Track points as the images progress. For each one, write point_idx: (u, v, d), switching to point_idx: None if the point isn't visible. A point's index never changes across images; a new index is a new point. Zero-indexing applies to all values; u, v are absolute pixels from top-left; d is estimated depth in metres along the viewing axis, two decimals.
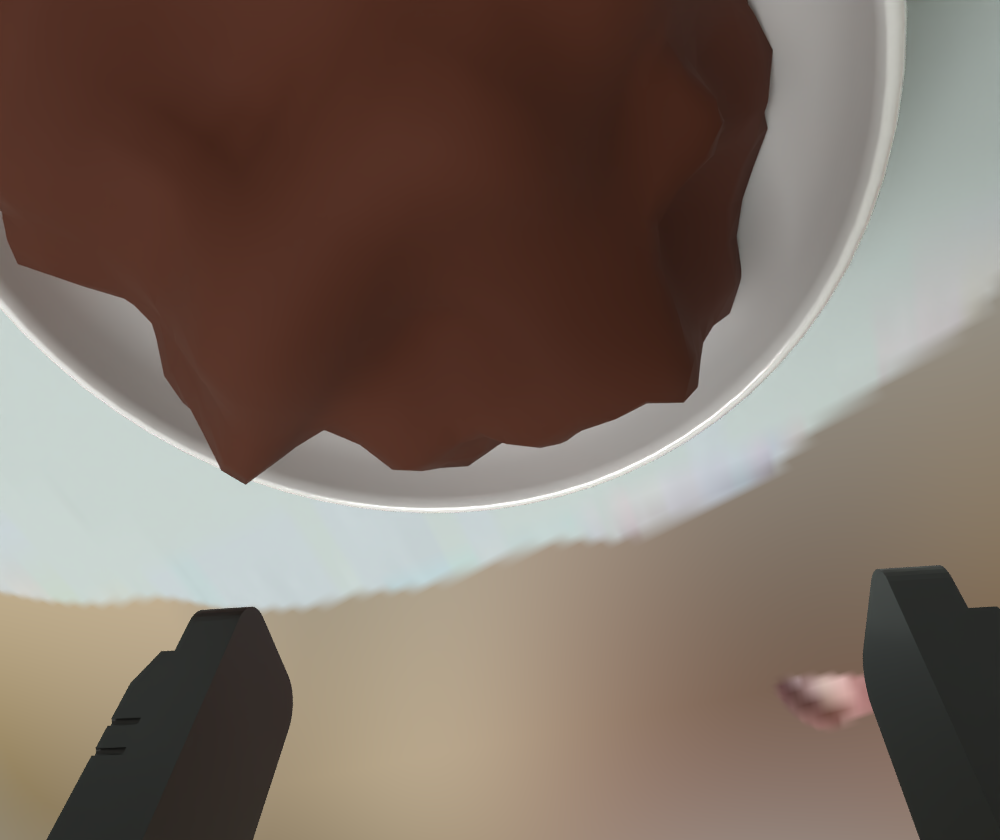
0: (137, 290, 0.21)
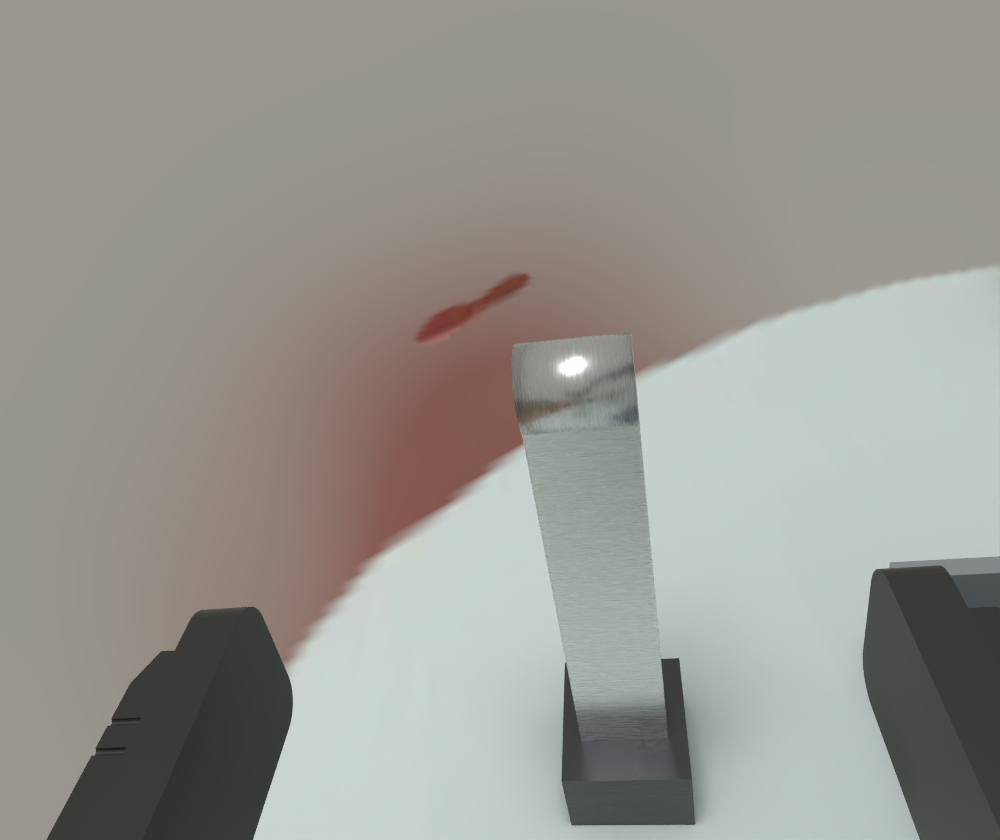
0: None
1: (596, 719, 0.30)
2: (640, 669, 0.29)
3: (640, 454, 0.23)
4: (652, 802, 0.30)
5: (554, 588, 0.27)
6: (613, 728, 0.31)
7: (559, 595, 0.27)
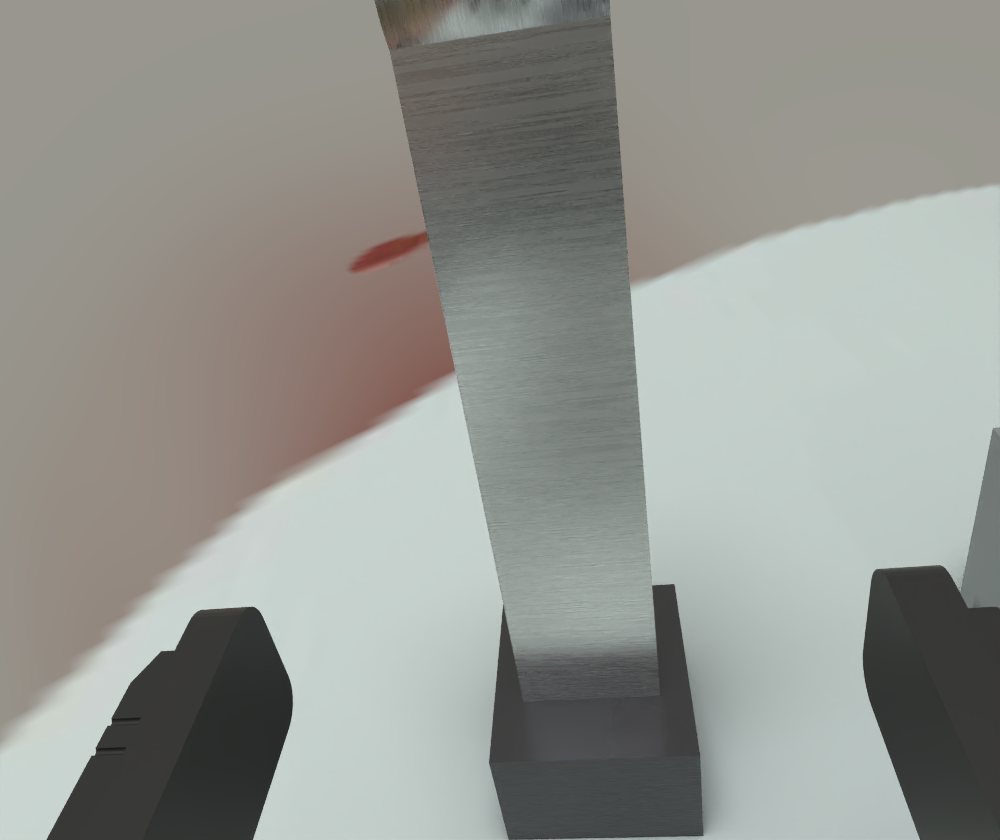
0: None
1: (546, 662, 0.19)
2: (616, 567, 0.17)
3: (612, 89, 0.12)
4: (635, 797, 0.19)
5: (467, 406, 0.15)
6: (573, 678, 0.19)
7: (476, 420, 0.16)
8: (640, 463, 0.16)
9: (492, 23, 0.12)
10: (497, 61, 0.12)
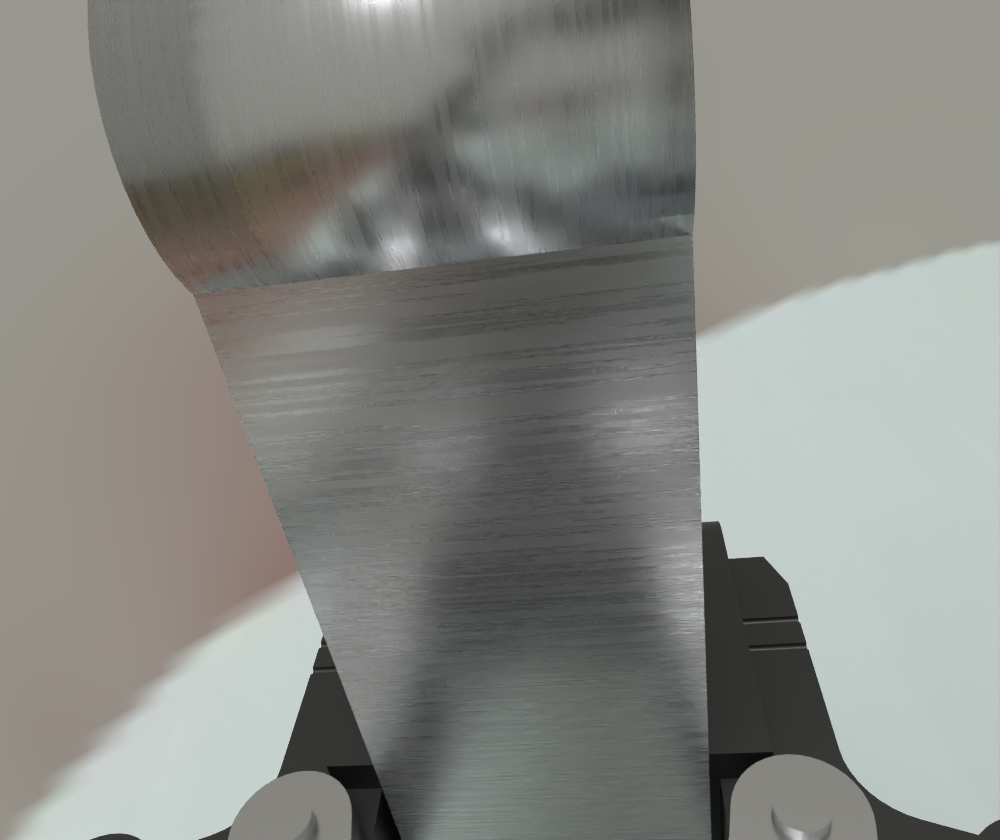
0: None
1: None
2: None
3: (690, 377, 0.06)
4: None
5: (406, 830, 0.09)
6: None
7: None
8: None
9: (417, 251, 0.05)
10: (434, 320, 0.05)
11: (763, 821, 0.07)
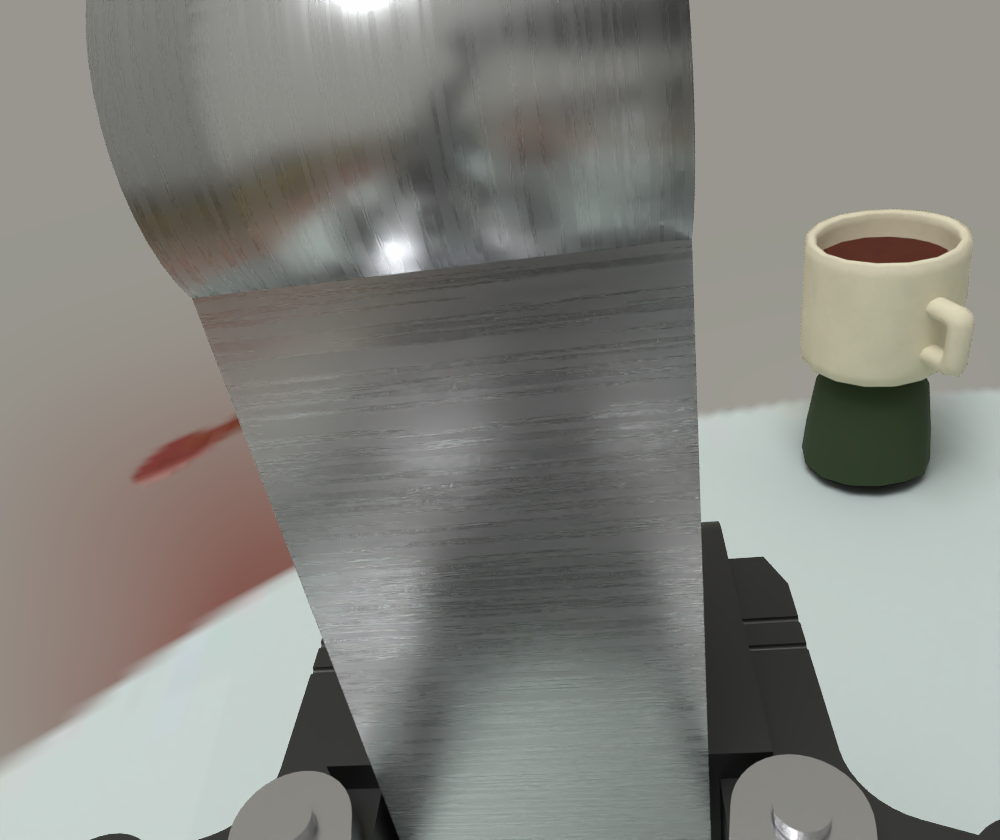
0: None
1: None
2: None
3: (690, 381, 0.06)
4: None
5: (405, 833, 0.09)
6: None
7: None
8: None
9: (416, 254, 0.05)
10: (433, 324, 0.05)
11: (763, 821, 0.07)
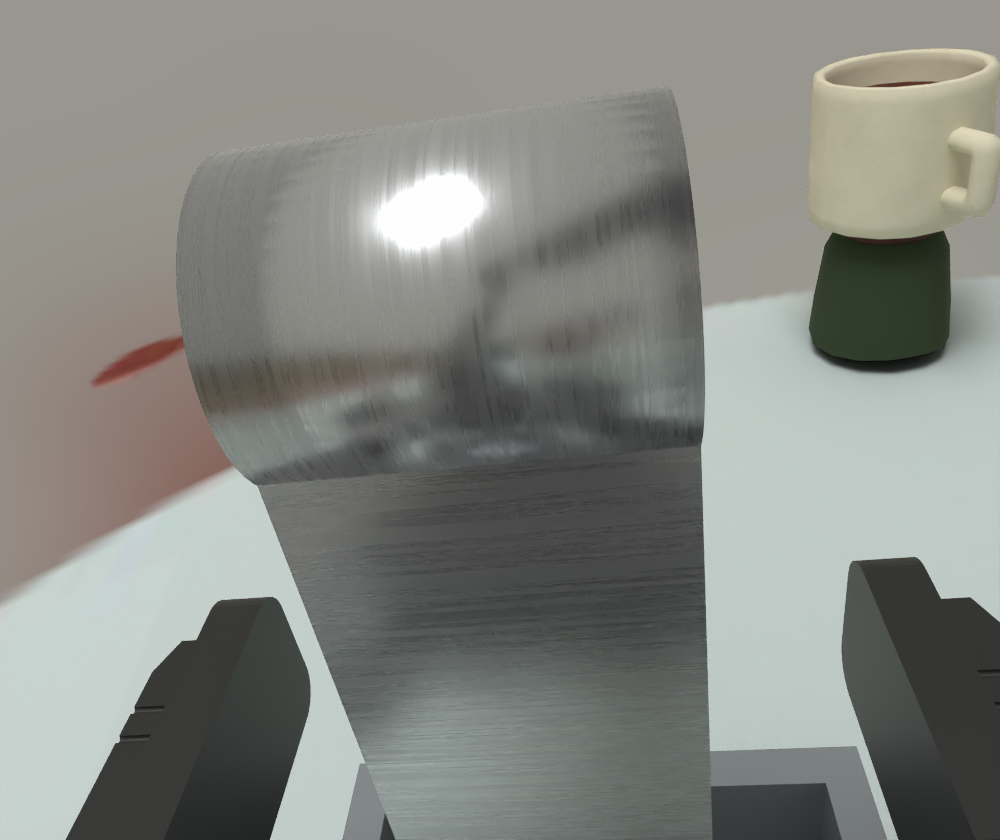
0: None
1: None
2: None
3: (698, 554, 0.06)
4: None
5: None
6: None
7: None
8: None
9: (459, 458, 0.06)
10: (471, 507, 0.06)
11: None
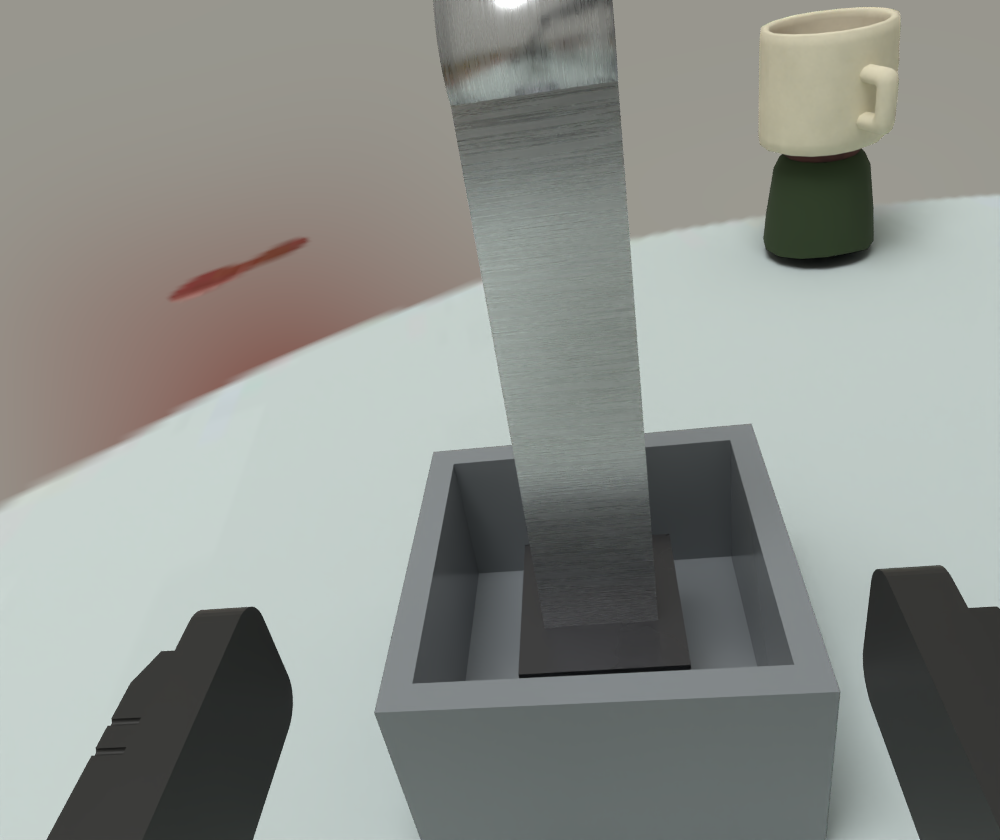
0: None
1: (564, 593, 0.23)
2: (622, 510, 0.21)
3: (619, 134, 0.16)
4: None
5: (503, 378, 0.19)
6: (586, 606, 0.23)
7: (510, 390, 0.20)
8: (641, 423, 0.20)
9: (529, 86, 0.16)
10: (532, 114, 0.16)
11: None
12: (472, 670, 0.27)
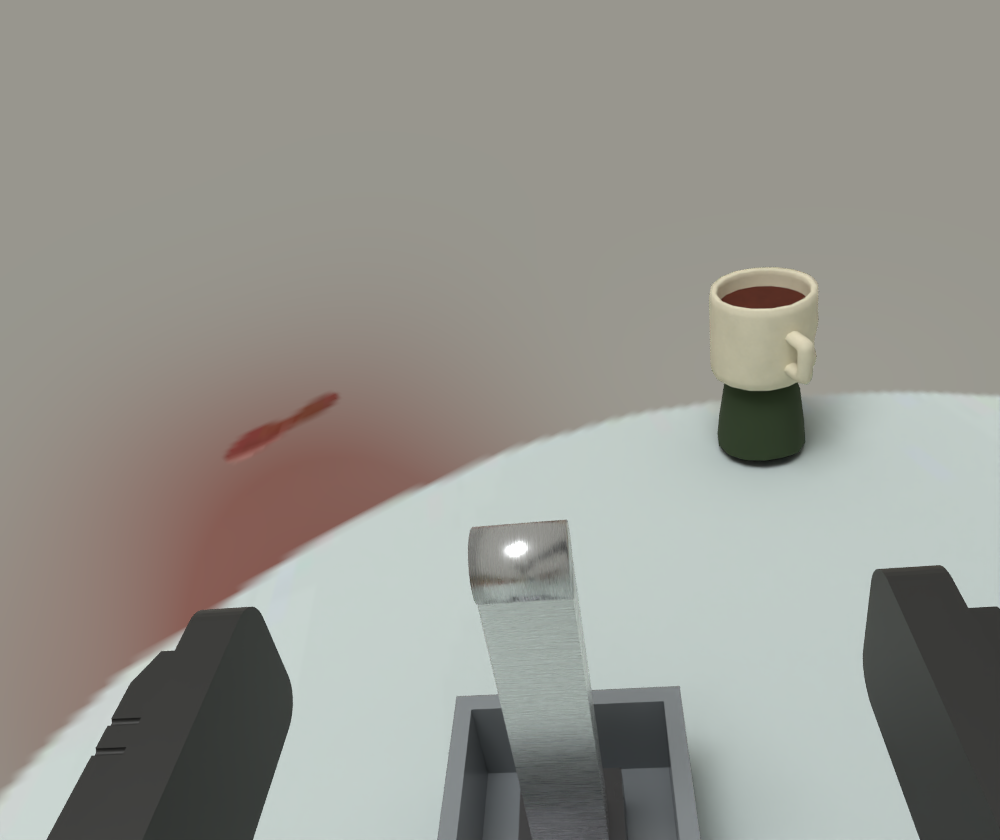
0: None
1: (546, 828, 0.35)
2: (583, 787, 0.33)
3: (575, 619, 0.28)
4: None
5: (507, 722, 0.31)
6: (561, 836, 0.35)
7: (511, 728, 0.31)
8: (593, 745, 0.32)
9: (522, 600, 0.28)
10: (524, 609, 0.28)
11: None
12: None
